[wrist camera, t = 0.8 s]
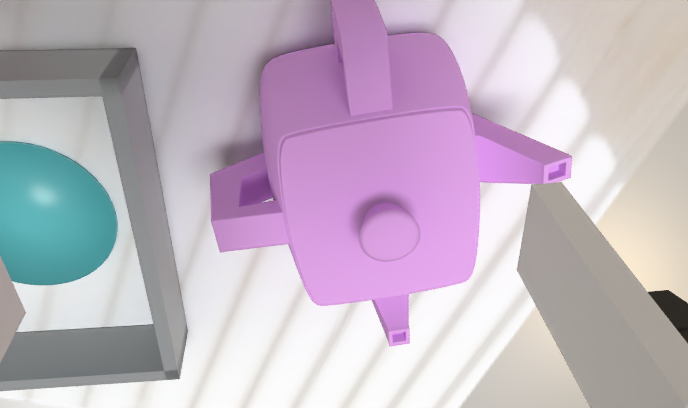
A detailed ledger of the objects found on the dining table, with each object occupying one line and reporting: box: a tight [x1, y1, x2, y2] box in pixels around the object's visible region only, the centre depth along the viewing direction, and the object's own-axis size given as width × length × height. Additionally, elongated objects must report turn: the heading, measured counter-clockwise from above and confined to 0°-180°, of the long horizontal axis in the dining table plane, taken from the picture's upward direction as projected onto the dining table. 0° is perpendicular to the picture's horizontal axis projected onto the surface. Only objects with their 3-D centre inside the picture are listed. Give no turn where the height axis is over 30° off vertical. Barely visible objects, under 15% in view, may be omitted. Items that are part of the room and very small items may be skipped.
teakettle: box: [210, 0, 572, 346], centre depth 36 cm, size 17×17×12 cm
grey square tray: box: [0, 48, 188, 391], centre depth 40 cm, size 24×19×5 cm
